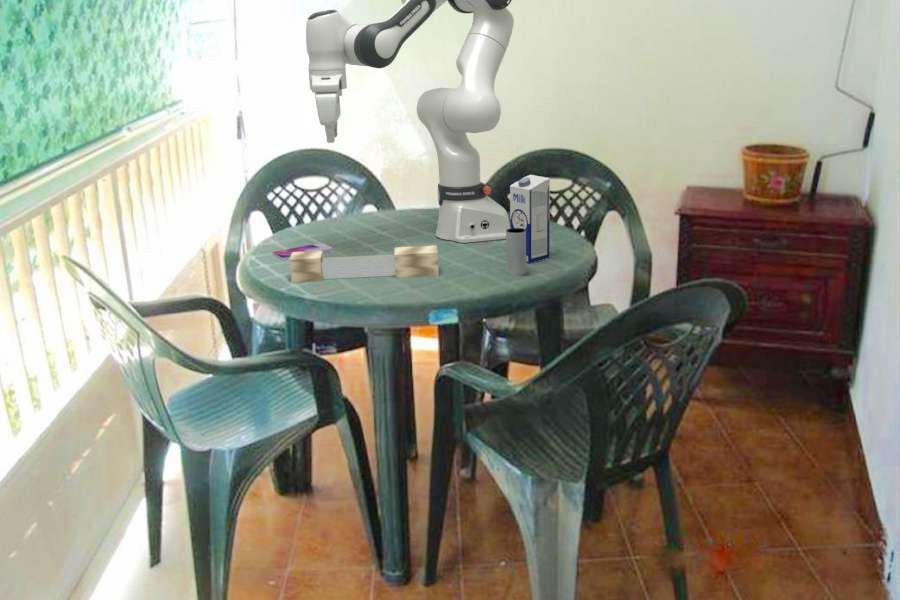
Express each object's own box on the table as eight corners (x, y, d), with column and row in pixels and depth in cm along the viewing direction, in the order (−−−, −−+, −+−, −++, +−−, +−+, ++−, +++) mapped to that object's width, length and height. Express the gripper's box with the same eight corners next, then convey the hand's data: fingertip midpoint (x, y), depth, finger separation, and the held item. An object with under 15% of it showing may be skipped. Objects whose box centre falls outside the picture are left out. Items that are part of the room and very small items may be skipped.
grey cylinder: (520, 277, 192) (520, 233, 189) (503, 274, 195) (502, 231, 191) (529, 271, 196) (529, 228, 193) (512, 269, 198) (511, 226, 195)
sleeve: (437, 268, 201) (436, 245, 199) (438, 275, 195) (437, 252, 193) (395, 270, 201) (394, 247, 199) (395, 277, 195) (394, 254, 193)
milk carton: (549, 258, 206) (550, 177, 200) (529, 263, 202) (529, 181, 196) (530, 252, 211) (530, 173, 205) (510, 257, 208) (509, 177, 201)
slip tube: (412, 269, 200) (411, 253, 198) (412, 274, 196) (412, 258, 195) (302, 275, 198) (301, 258, 197) (300, 280, 195) (299, 263, 193)
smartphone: (335, 248, 220) (282, 258, 212) (335, 251, 220) (282, 261, 213) (323, 242, 226) (271, 251, 218) (323, 245, 226) (271, 254, 218)
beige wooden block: (324, 273, 200) (322, 250, 198) (322, 281, 194) (320, 258, 192) (294, 274, 200) (292, 252, 198) (291, 283, 193) (289, 259, 192)
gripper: (318, 79, 212) (323, 134, 216) (310, 85, 192) (315, 146, 197) (343, 78, 212) (347, 133, 216) (338, 84, 193) (342, 145, 197)
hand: (332, 139), depth 206 cm, fingers open, 8 cm apart
